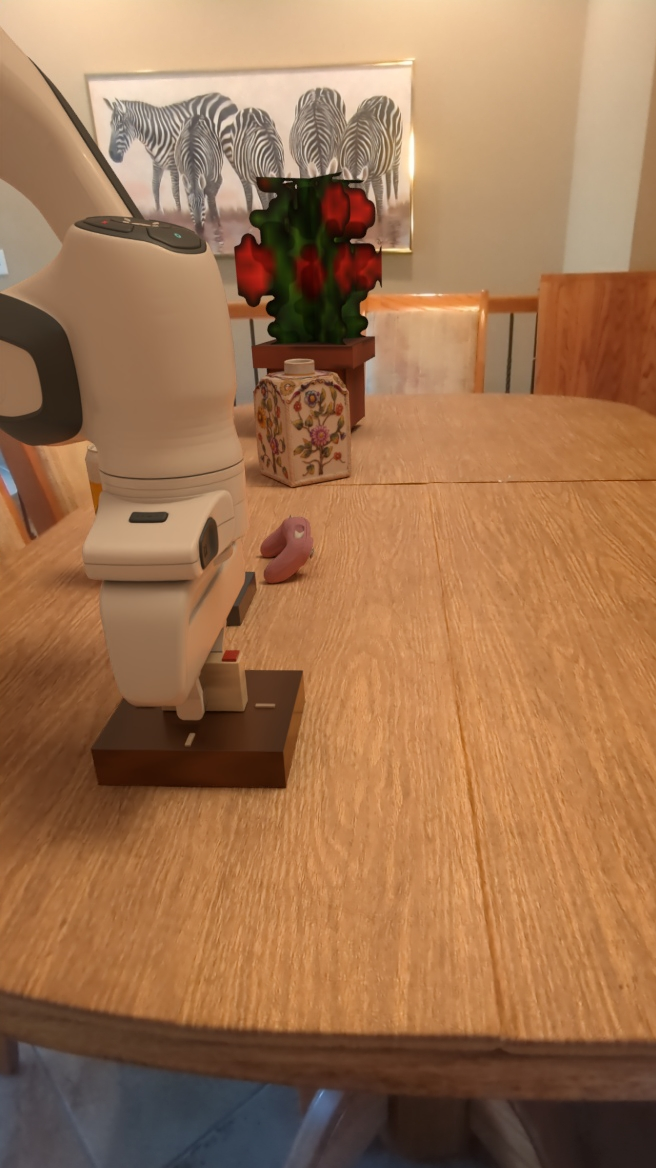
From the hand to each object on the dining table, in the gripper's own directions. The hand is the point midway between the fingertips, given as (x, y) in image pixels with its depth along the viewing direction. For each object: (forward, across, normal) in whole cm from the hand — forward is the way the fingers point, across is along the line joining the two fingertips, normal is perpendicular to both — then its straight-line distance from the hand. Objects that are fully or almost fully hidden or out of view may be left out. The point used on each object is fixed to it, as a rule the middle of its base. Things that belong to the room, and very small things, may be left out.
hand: (203, 693), depth 54 cm
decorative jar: (+4, -77, -2) cm, 77 cm away
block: (+4, -24, -7) cm, 25 cm away
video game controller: (+4, -35, +1) cm, 35 cm away
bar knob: (+1, 0, 0) cm, 1 cm away
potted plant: (+4, -112, -3) cm, 112 cm away
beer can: (+4, -32, -16) cm, 36 cm away
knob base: (+4, 0, 0) cm, 4 cm away
